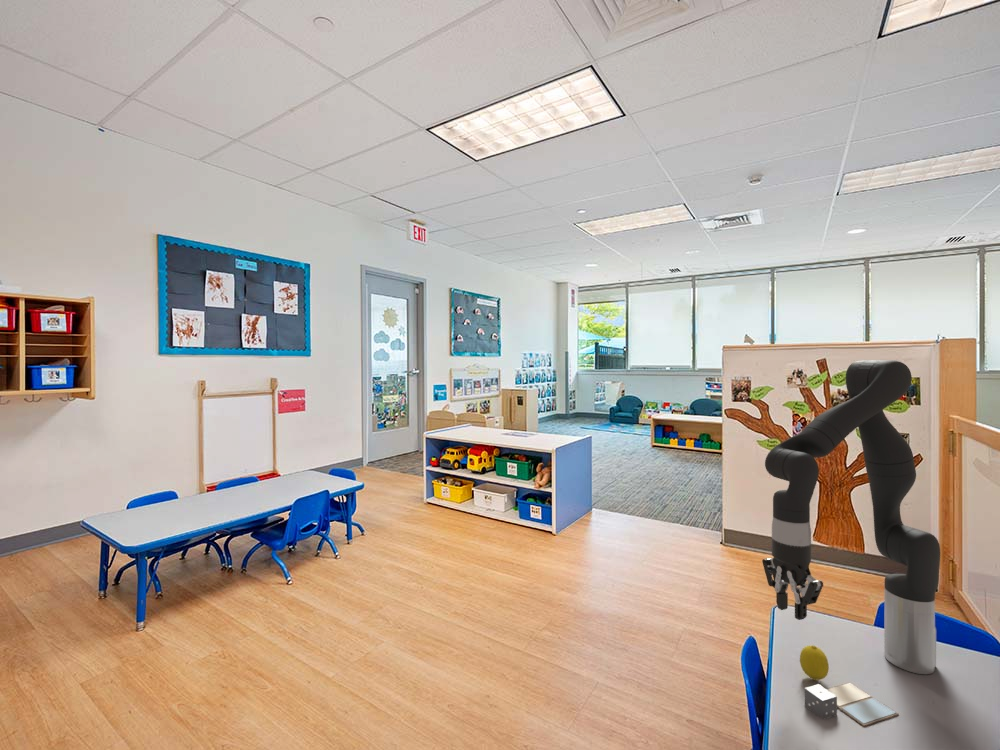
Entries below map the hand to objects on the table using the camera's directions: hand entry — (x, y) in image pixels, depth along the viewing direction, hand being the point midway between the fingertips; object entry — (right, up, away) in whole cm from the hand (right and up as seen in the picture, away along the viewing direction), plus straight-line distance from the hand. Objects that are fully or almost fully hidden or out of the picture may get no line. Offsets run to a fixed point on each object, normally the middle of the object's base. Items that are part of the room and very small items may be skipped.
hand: (791, 613), depth 104 cm
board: (+11, -17, -5) cm, 21 cm away
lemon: (+7, -17, +3) cm, 19 cm away
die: (+2, -17, -6) cm, 19 cm away
